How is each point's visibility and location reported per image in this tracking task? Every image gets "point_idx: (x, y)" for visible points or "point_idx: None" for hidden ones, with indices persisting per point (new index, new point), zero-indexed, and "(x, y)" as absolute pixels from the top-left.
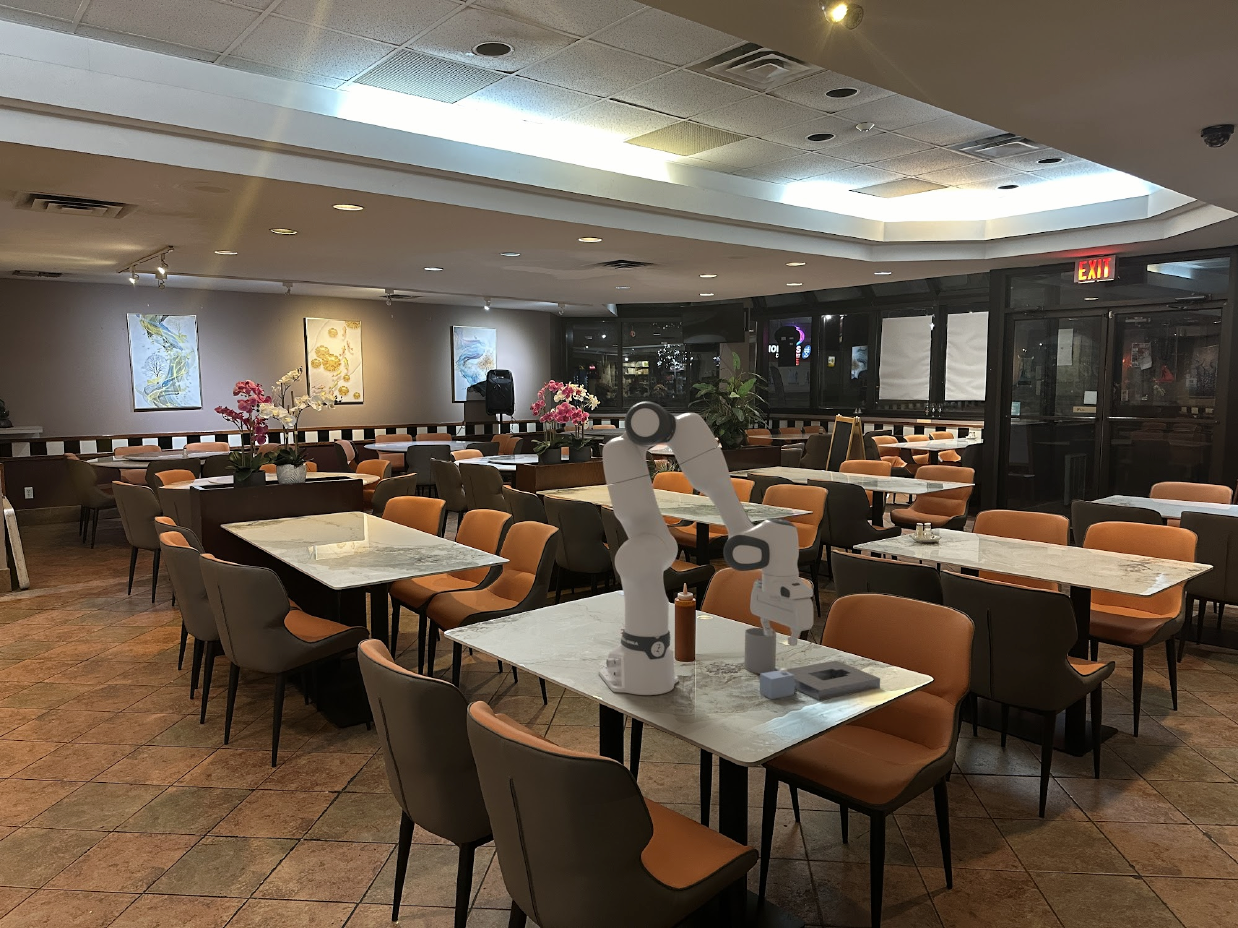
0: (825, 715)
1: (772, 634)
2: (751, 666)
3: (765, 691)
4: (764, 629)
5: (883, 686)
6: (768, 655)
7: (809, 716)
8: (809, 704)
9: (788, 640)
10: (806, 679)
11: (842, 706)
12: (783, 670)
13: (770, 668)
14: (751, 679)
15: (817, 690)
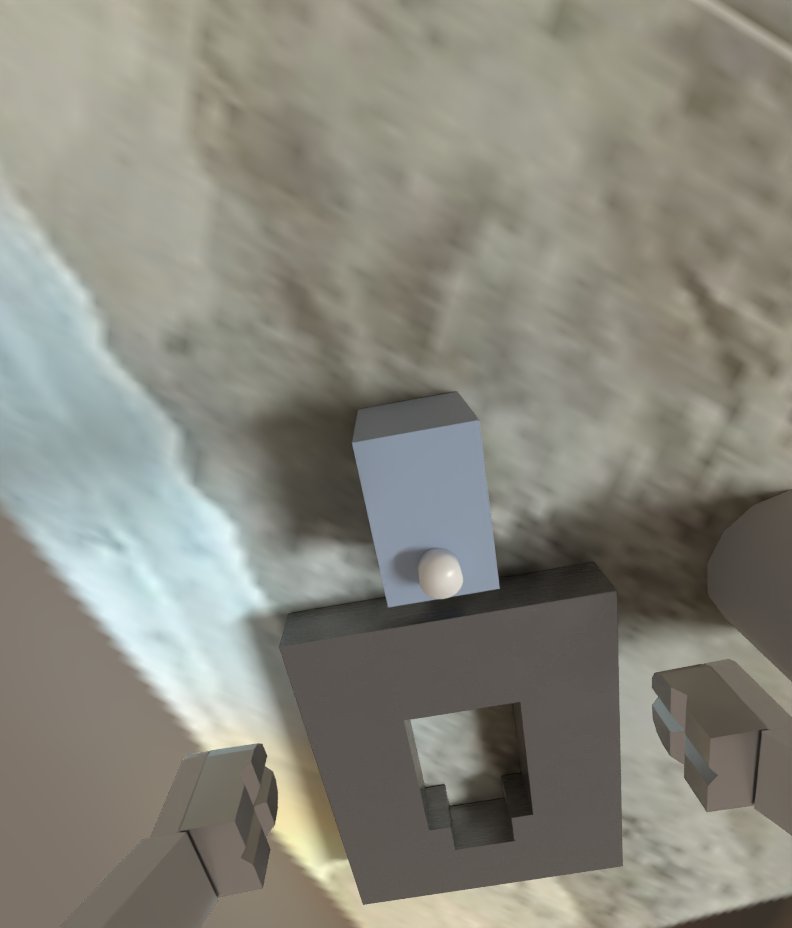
0: (101, 554)
1: (659, 736)
2: (787, 512)
3: (408, 406)
4: (764, 715)
5: None
6: (777, 629)
7: (94, 480)
8: (248, 552)
9: (232, 783)
10: (442, 661)
11: (200, 665)
12: (422, 569)
13: (719, 593)
14: (662, 446)
15: (292, 641)
